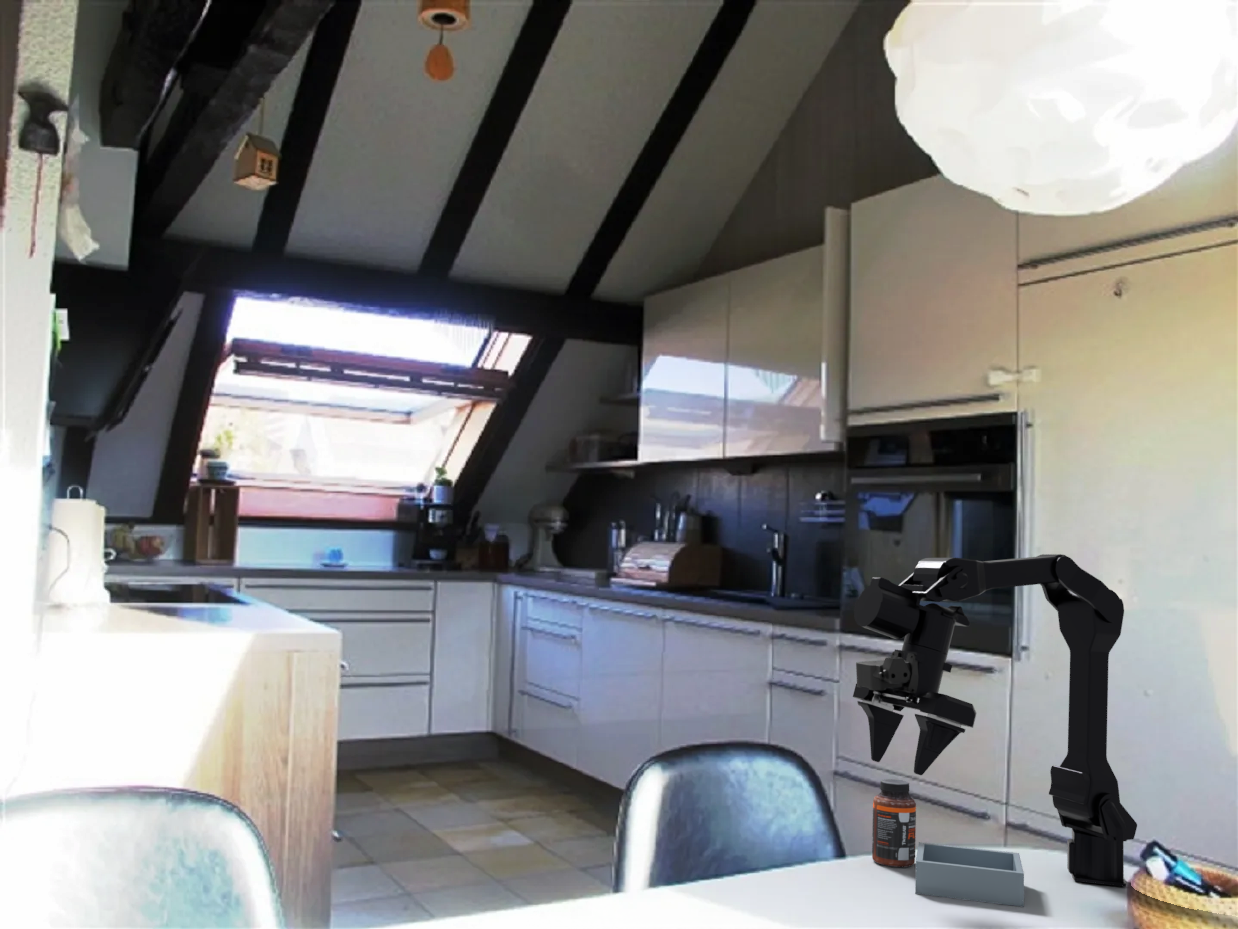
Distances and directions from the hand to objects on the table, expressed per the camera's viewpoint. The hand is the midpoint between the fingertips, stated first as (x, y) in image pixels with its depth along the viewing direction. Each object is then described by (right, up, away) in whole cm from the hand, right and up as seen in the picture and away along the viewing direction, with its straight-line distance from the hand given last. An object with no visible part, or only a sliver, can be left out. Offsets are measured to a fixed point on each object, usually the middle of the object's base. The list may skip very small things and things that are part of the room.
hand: (895, 767), depth 139 cm
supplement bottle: (+3, -18, +14) cm, 23 cm away
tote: (+10, -17, +3) cm, 20 cm away
